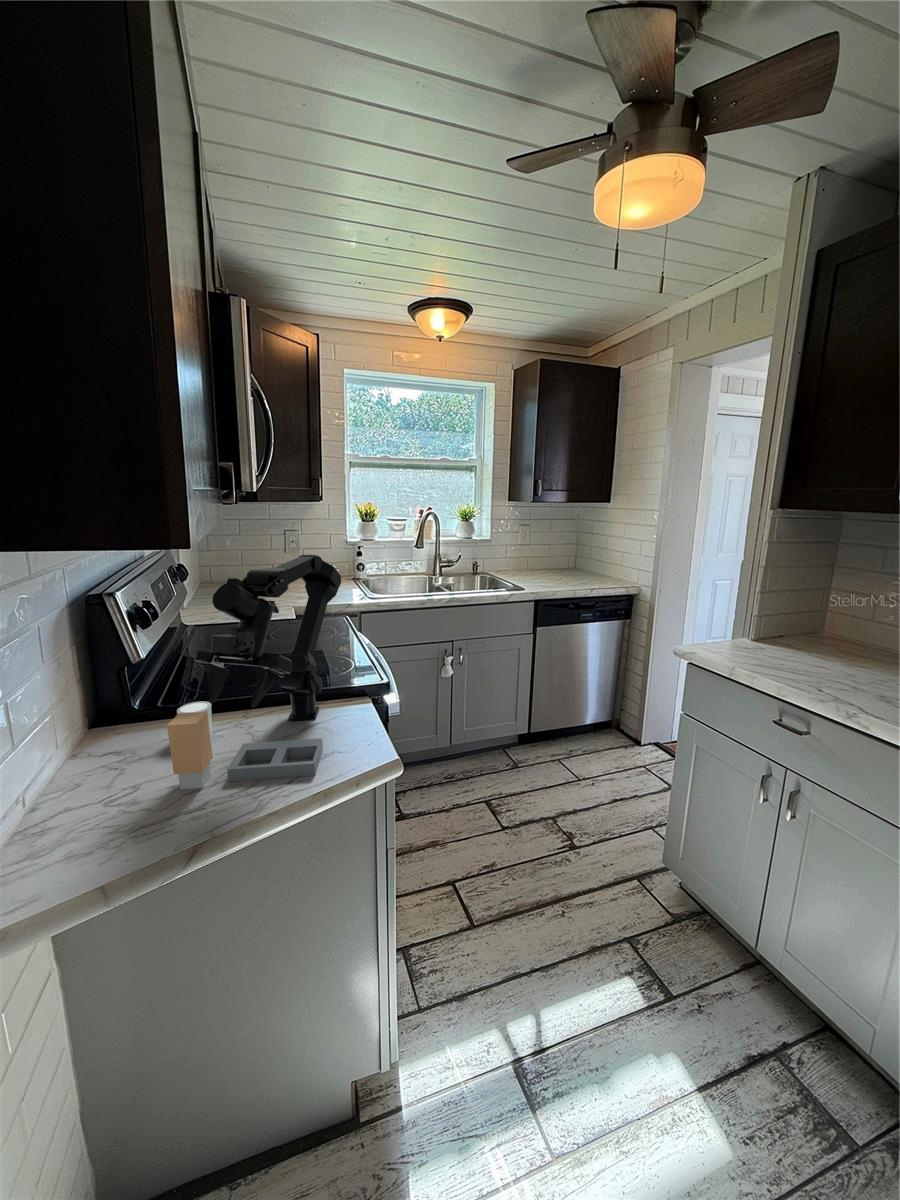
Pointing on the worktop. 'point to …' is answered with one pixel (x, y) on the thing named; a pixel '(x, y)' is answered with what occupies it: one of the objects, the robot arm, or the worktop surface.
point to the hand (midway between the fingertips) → (232, 704)
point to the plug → (190, 749)
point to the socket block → (275, 760)
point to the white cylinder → (197, 710)
